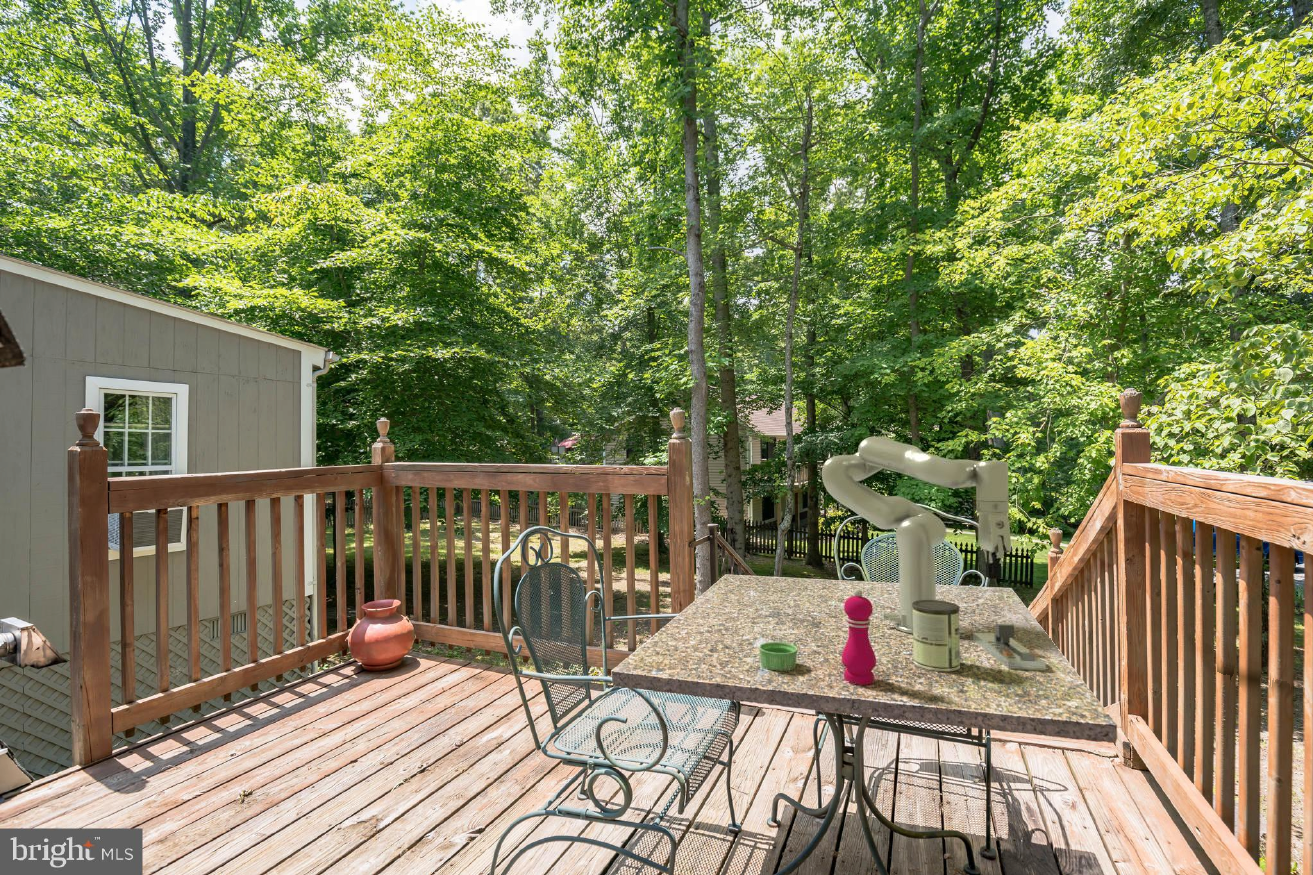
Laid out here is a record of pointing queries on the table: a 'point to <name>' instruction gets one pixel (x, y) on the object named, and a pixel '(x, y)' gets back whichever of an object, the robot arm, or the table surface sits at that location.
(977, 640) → the console
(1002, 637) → the fader tab
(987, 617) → the table surface
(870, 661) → the pepper mill
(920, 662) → the coffee can
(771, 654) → the ramekin
